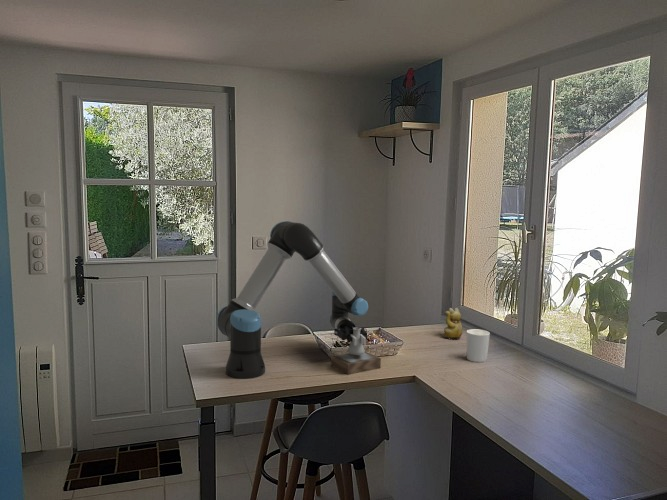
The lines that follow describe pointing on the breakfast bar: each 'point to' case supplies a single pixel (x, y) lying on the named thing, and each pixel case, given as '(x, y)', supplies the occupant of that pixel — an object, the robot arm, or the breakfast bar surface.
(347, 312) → the robot arm
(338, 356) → the walnut stand
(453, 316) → the decorative figurine
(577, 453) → the breakfast bar surface
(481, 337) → the candle holder
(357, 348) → the flask
